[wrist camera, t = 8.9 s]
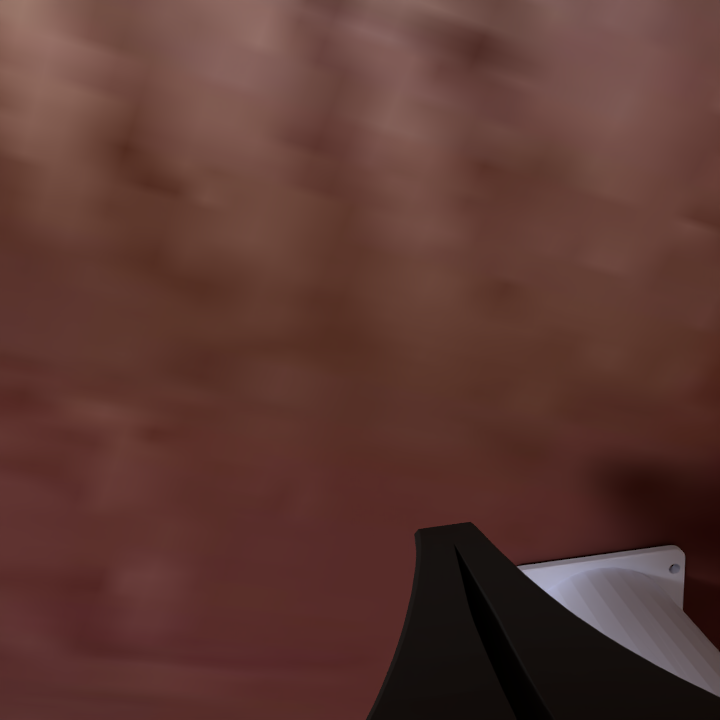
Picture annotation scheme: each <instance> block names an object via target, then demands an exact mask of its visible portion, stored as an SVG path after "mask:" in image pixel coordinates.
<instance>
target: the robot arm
mask: <svg viewBox="0 0 720 720" xmlns="http://www.w3.org/2000/svg"><path fill="white" fill-rule="evenodd" d="M414 535H415V544H416V567H415V574H414V580H413V587H412V593H411V598H410V602H409V606H408V610H407V614H406V618H405V622H404V626H403V629H402V633H401V636H400V639H399V642H398V645H397V648H396V651H395V654H394V657H393V660H392V662H391V665H390V667H389V670H388V672H387V675H386V677H385V680H384V682H383V685H382V687H381V690H380V692H379V694H378V696H377V699H376V701H375V703H374V705H373V707H372V709H371V711H370V713H369V715H368V717H367V719H366V720H720V652H719V651H718V649H717V648H716V647H715V646H714V645H713V644H712V643H711V642H710V641H709V639H708V638H707V637H706V636H705V635H704V634H703V633H702V632H701V630H700V629H699V628H698V627H697V626H696V625H695V624H694V623H693V622H692V620H691V619H690V618H689V617H688V616H687V615H686V614H685V613H684V612H683V594H684V574H685V554H684V552H683V551H682V550H681V549H680V548H679V547H677V546H675V545H668V546H660V547H653V548H646V549H639V550H631V551H624V552H617V553H610V554H602V555H595V556H588V557H581V558H573V559H566V560H559V561H552V562H544V563H537V564H530V565H523V566H517V567H516V566H515V565H514V564H513V563H512V562H511V561H510V560H509V559H508V558H507V557H506V556H505V555H504V554H503V553H502V552H501V551H500V550H499V549H497V548H496V547H495V546H494V545H493V544H492V543H491V542H490V541H489V540H488V538H487V537H486V536H485V535H484V534H483V533H482V532H481V531H480V530H479V529H478V528H477V527H476V526H475V525H474V524H473V523H471V522H467V523H459V524H452V525H445V526H438V527H430V528H423V529H418V531H417V532H416V533H415V534H414ZM673 564H674V565H673ZM671 565H673V566H672V567H670V566H671Z"/></svg>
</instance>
